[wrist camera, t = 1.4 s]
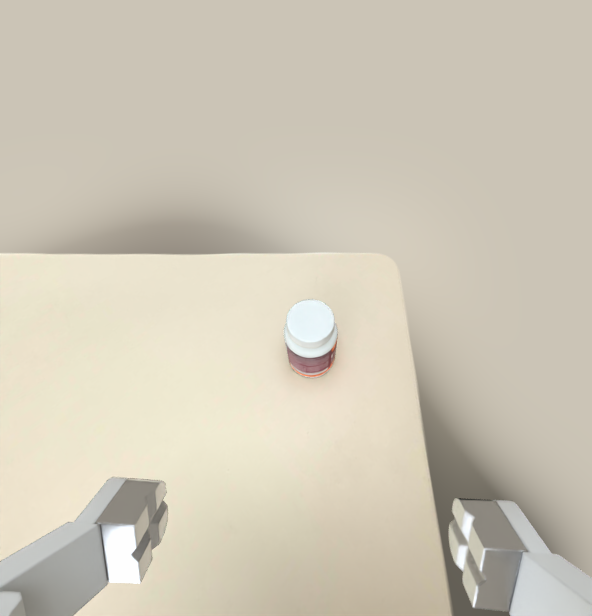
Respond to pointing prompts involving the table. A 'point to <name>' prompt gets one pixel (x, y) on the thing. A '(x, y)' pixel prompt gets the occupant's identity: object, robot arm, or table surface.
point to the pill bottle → (310, 338)
